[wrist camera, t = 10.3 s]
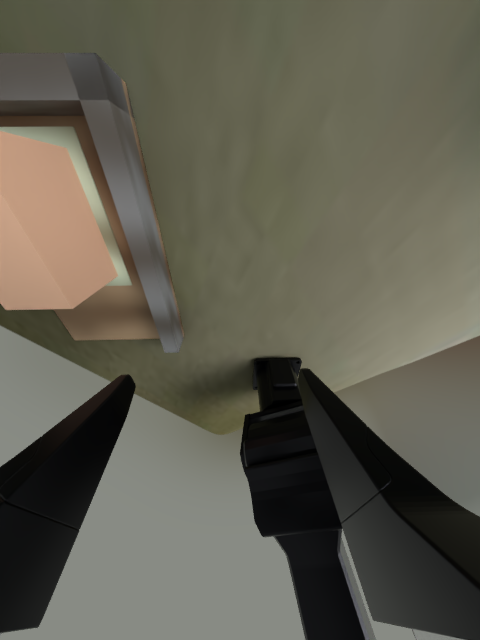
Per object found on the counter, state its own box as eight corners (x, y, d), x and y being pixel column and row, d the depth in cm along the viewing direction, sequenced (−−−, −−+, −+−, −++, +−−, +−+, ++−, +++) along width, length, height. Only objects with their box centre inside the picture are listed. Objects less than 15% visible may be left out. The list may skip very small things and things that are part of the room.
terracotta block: (66, 148, 12) (-45, 119, 7) (118, 276, 18) (72, 308, 13) (-2, 148, 12) (-159, 119, 7) (70, 276, 17) (5, 310, 13)
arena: (184, 335, 23) (178, 352, 20) (78, 337, 23) (59, 354, 20) (125, 83, 11) (95, 53, 9) (-92, 83, 11) (-184, 52, 9)
